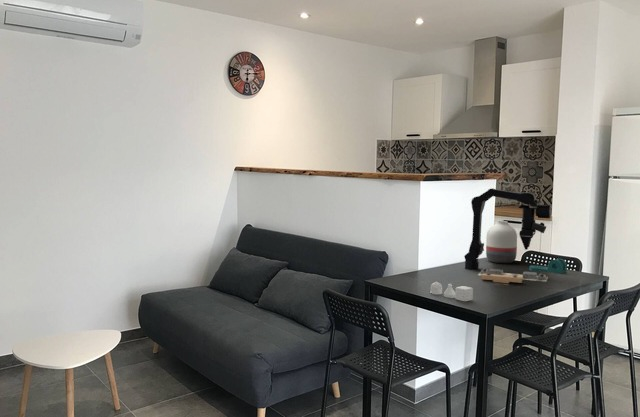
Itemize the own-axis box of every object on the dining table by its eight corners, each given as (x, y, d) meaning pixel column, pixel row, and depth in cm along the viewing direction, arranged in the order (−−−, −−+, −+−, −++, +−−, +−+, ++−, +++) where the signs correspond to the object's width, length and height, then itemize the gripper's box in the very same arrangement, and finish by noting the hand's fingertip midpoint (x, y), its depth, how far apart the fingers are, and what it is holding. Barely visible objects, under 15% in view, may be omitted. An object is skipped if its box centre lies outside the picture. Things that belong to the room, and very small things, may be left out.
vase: (499, 265, 297) (501, 223, 295) (479, 260, 312) (480, 220, 311) (522, 263, 304) (524, 222, 302) (501, 258, 319) (503, 219, 317)
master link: (481, 282, 252) (481, 273, 252) (482, 281, 256) (482, 271, 255) (521, 286, 244) (521, 276, 244) (522, 284, 248) (522, 275, 247)
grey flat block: (522, 278, 258) (522, 273, 258) (523, 275, 263) (524, 271, 263) (544, 280, 253) (544, 275, 253) (545, 277, 258) (545, 273, 258)
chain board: (477, 277, 265) (477, 275, 265) (481, 272, 275) (481, 270, 275) (546, 283, 250) (546, 281, 250) (548, 278, 261) (548, 276, 261)
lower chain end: (480, 274, 267) (480, 269, 267) (482, 272, 272) (482, 267, 272) (501, 276, 262) (501, 271, 262) (502, 273, 268) (503, 269, 267)
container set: (472, 300, 219) (473, 287, 218) (464, 302, 216) (465, 289, 215) (435, 291, 235) (435, 279, 234) (427, 293, 232) (427, 280, 231)
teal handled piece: (566, 274, 273) (567, 259, 273) (560, 276, 269) (561, 260, 268) (533, 269, 287) (533, 254, 286) (526, 270, 282) (527, 256, 282)
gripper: (544, 220, 253) (543, 252, 254) (546, 216, 270) (545, 246, 271) (519, 218, 258) (518, 250, 259) (523, 215, 275) (522, 245, 276)
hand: (527, 248), depth 266 cm, fingers open, 9 cm apart
